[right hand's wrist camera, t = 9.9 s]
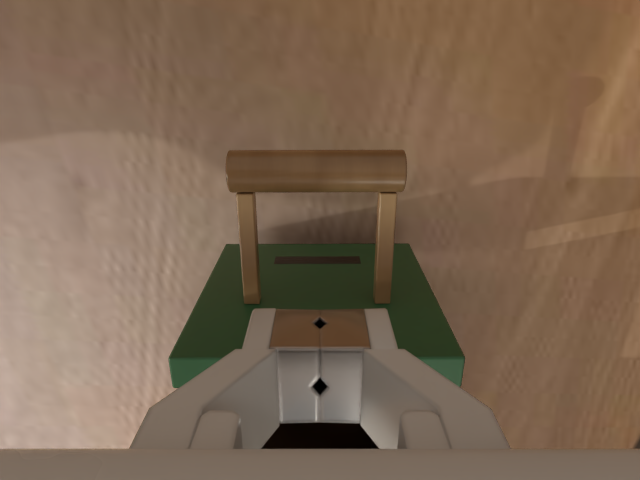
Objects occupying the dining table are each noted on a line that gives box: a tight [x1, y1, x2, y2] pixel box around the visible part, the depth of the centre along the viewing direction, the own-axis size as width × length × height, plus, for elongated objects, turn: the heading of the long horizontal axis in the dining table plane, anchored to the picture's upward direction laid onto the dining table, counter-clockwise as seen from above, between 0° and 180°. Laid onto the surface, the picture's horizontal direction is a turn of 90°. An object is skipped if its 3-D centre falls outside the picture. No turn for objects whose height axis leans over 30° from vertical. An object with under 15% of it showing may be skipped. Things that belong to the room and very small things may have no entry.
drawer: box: [168, 150, 465, 449], centre depth 21 cm, size 25×9×10 cm, turn 0°
